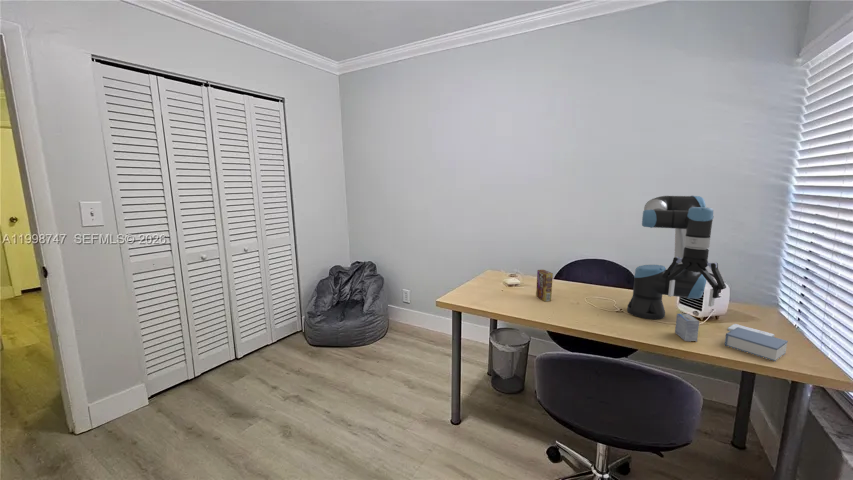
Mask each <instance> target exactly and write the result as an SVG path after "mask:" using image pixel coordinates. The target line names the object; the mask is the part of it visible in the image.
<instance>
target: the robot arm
mask: <svg viewBox="0 0 853 480" xmlns="http://www.w3.org/2000/svg"><path fill="white" fill-rule="evenodd" d="M713 219H714V209H713V208H712V207H707V206H706V201H705V199H704V197H702V196H698V195H663V196H658V197H653V198H652V199H650V200H648V201H646V203H645V204H644V207H643V211H642V221H641V226H642V227H644V228H650V229H652V228H654V229H655V228H656V229H657V228H658V229H674V231H675V234H674V257H673V260H672V262H671V263H670V265H669V267H668V268H666V266H665V265H659V264H642V265H639V266H637V267H636V268H635V270H634V275H633V278H634V281H633V288H632V289H633V290H632V297H631V298H630V299H629V302H628V304H627V308H626V311H627V312H628V314H630V315H632V316H634V317H637V318H642V319H645V320H646V319H647V320H663V319H664V318H665V317H666V311H665V307H664V304H663V295H664V296H668V297H678V298H683V299H684V298H685V299H686V298H687V299H694V300H695V299H696V300H697V299H701V298H702V297H703V294H704V292H705V288H706V284H707V283H708V284H709V285H710V287H711V288H710V290H709V298H708V307H713V306H714V305H715V301H716V299H717V298H719V294H720V293H719V292H720V290H722V291H723V290H725V289H726V288H727V286H726V283H725V281H724V279H723V277H722V274H721V272H720V270H719V264H718V262H709V261H708V258H709V251H710V250H709V248H710V246H711V245H710V244H711V234H712V227H713ZM708 267H709V269H711V273H712V274H713V276H712V275H711V274H710V273H709V270H708V269H707V268H708Z"/></svg>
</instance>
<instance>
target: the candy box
mask: <svg viewBox="0 0 853 480" xmlns="http://www.w3.org/2000/svg"><path fill="white" fill-rule="evenodd" d="M536 275H537V277H536V289H535V291H536V293H535V297H537V298H538V299H540V300H541V301H543V302H551V301H552V293H553V292H552V291H553V276H554V274H553V272H550V271H549V270H546V269H537V274H536Z"/></svg>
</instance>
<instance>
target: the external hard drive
mask: <svg viewBox="0 0 853 480" xmlns="http://www.w3.org/2000/svg"><path fill="white" fill-rule="evenodd" d="M738 327H739V328H742V329H746V330H750V331H753V332H757V333H761V334H764V335H768V336H772V337H775V334H774V333H771V332H768V331H764V330H759V329H756V328H752V327H747V326H745V325H741V324H738V323H733V324H731V325H730V326H728V327H727V331H728V332H730V331H732V330H734V329H736V328H738Z"/></svg>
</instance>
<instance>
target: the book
mask: <svg viewBox="0 0 853 480" xmlns="http://www.w3.org/2000/svg"><path fill="white" fill-rule="evenodd" d="M724 345H725V347H727V346H729V347H728V348H730V347H732V348H731V349H734V348H735V349H734V350H737V349H738V350H737V351H740V350H741V351H740V352H743V351H744V353H746V352H748V353H747V354H749V353H751V354H750V355H752V354H754V355H753V356H755V355H757V357H759V356H760V357H759V358H762V357H764V358H763V359H765V358H767V359H766V360H768V359H770V360H769V361H771V360H773V361H772V362H774V361H775V362H777V361H778V360H779V359H781V358H782V357H783V356H785V355H786V354H785V353H786V352H787V348H788V347H787V346H788V340H785V339H783V338H778V337H775V336H774V337H772V336H768V335H764V334H761V333H757V332H753V331H750V330H746V329H742V328H739V327H738V328H736V329H734V330H732V331H728V332H727V333H725V339H724ZM782 355H783V356H782ZM781 356H782V357H781ZM780 357H781V358H780ZM778 358H779V359H778ZM777 359H778V360H777ZM776 360H777V361H776Z"/></svg>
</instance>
